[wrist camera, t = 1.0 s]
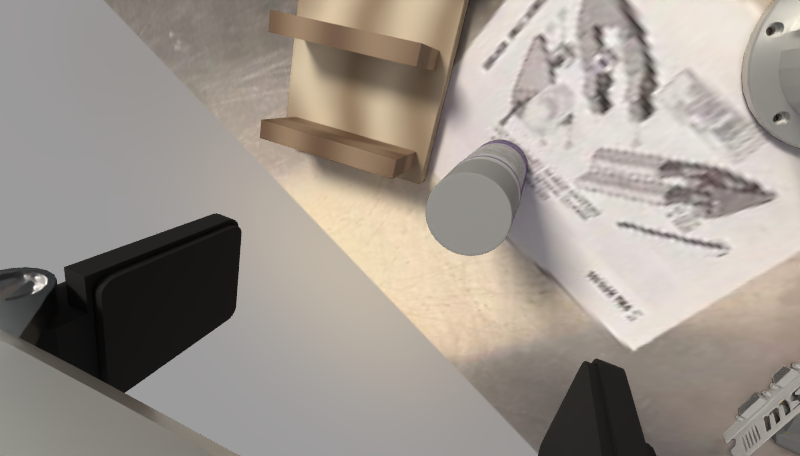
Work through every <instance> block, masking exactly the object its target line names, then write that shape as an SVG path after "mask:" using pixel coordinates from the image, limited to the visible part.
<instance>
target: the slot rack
mask: <svg viewBox="0 0 800 456" xmlns="http://www.w3.org/2000/svg"><path fill="white" fill-rule="evenodd" d="M468 3H469V0H298V9H297V16H296V15H291V14H287V13H282V12H278V11H273V10H270V17H269V30H268V32H271V33H275V34H279V35H284V36H288V37H292V38H295V39H294V49H293V58H292V68H291V78H290V88H289V97H288V107H287V117H286V118H276V119H265V120H261V132H260V138H262V139H265V140H268V141H272V142H275V143H278V144H281V145H284V146H288V147H291V148H294V149H297V150H300V151H304V152H307V153H310V154H313V155H316V156H320V157H323V158H326V159H329V160H332V161H336V162H339V163H342V164H345V165H348V166H352V167H355V168H358V169H361V170H365V171H368V172H371V173H374V174H377V175H381V176H384V177H387V178H390V179H393V178H395V177H399V178H402V179H405V180H408V181H412V182H415V183H418V184H420V183H422V182H423V181H424V180H425V176H426V172H427V168H428V164H429V160H430V156H431V152H432V148H433V144H434V140H435V136H436V132H437V128H438V124H439V120H440V116H441V112H442V108H443V104H444V100H445V96H446V92H447V88H448V84H449V79H450V75H451V71H452V67H453V63H454V59H455V55H456V51H457V47H458V43H459V39H460V35H461V31H462V27H463V23H464V19H465V15H466V11H467V7H468Z"/></svg>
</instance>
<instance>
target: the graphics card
mask: <svg viewBox="0 0 800 456" xmlns="http://www.w3.org/2000/svg"><path fill="white" fill-rule="evenodd" d="M792 367H793V369H792V368H789V367H787V366H785V365H783V366H782V367H781V368H780V369H779V370H777V371H776V372H775V373H774V374H773V375H772V378H773V382H774V383H771V384H770V388H771V389H770V390H769V391H763V392H762V394H763V395H764V396H763V395H761V394H758V393H756V392H755V393H754V394H753V395H752V396H751V397H750V398H749V399H748V400H747V401H746V402H745V403H744V404H743V405H741V406H740V407H739V408H738V412H739V414H740V415H741V416H736V419H737V421H736V422H735V423H734V424H733V425H732V426H731V427H729V428H728V429H727V430H726V431H725V433H724V434H723V437H724V440H725V442H726V443H728V442H729V441H730V440H731V439H735V440H736V445H735V446H734V447H733V449H732V450H731V453H732V455H733V456H749V455H750V454H752V453H753V452H754V451H755V450H756V449H757V448H759V447H760V446H761V445H762V444H763V443H764V442H766V441H767V440H768V439H769V438H770V437H771V436H772V438H773V439H774V441H775V443H777V444H779V445H781V446H782V447H784V448H786V449H788V450H790V451H792V452H794V453H796V454H798V455H800V362H799V363H798V364H797V363H793V364H792ZM794 391H795V395H798V396H795V395H792V393H793V392H794ZM783 400H784V401H785V402H786V404H787V405H788V406H789V407H790V408H789V407H788V406H786V405H782V404H781V405H779V404H780V403H781V402H782V401H783ZM773 409H774V410H775V412H776V413H777V415H778V416H779V417H780V421H779V422H778V423H776V422H775V418H774V414H773V413H772V414H771V415H769V414H770V412H771V411H772V410H773ZM766 415H767V416H769V417H770V423H768V427H767V426H765V423H764V417H765V416H766ZM755 426H756V427H757V430H758V432H759V435H760V437H761V439H759V437H758V434H757V431H756V428H755ZM766 428H768V429H769V431H766ZM752 429H753V431H754V433H755V436H756V439H757V441H758V442H757V443H756V441H755V438H754V435H753V432H752ZM748 432H750V434H751V437H752V440H753V442H754V445H753V444H752V442H751V439H750V436H749V433H748ZM745 434H746V435H747V438H748V440H749V443H750V446H751V448H749V445H748V443H747V439H746V436H745ZM742 437H743V439H744V441H745V444H746V447H747V451H746V449H745V446H744V443H743V439H742Z"/></svg>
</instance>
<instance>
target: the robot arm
mask: <svg viewBox="0 0 800 456" xmlns="http://www.w3.org/2000/svg"><path fill="white" fill-rule="evenodd" d="M768 27H770V28H772V33H771V34H770V35H769V36H767V34H766V29H767V28H768ZM742 84H743V93H744V96H745V99H746V101H747V104H748V107H749V109H750V111H751V112H752V114H753V115H754V117H755V118H756V120H757V121H758V123H759V124H760V125H761V126H762V127H763V128H765V129H766V130H767V131H768V132H769V133H770V134H771V135H772V136H774V137H776V138H778V139H779V140H781V141H783V142H785V143H786V144H788V145H791V146H794V147H797V148H800V0H773V1H772V3H771V4H770V5H769V6H768V8H767V9H766V10H765V11H764V13H763V14H762V16H761V18H760V19H759V21H758V23H757V25H756V27H755V28H754V30H753V32H752V34H751V36H750V39H749V42H748V45H747V48H746V51H745V54H744V60H743V67H742ZM776 114H778V116H779V118H778V120H777V121H774V122H773V117H774V116H775V115H776ZM240 245H241V229H240V228H239V227H238V223H237V222H236V221H235V220H233V219H230V218H228V217H225V216H222V215H220V214H217V213H216V214H212V215H209V216H206V217H204V218H201V219H198V220H195V221H192V222H190V223H187V224H184V225H181V226H178V227H176V228H173V229H170V230H167V231H164V232H161V233H159V234H156V235H153V236H150V237H147V238H145V239H142V240H139V241H136V242H133V243H131V244H128V245H125V246H122V247H120V248H117V249H114V250H111V251H108V252H106V253H103V254H100V255H97V256H94V257H92V258H89V259H86V260H83V261H80V262H78V263H75V264H72V265H69V266H66V267H64V271H65V280H66V281H65V282H63V283H60V284H58V285H57V279H56V277H55V275H54V274H52V273H51V272H49V271H47V270H43V269H39V268H28V267H23V268H9V269H4V270H0V456H239V455H237V454H235V453H234V452H232V451H230V450H228V449H226V448H224V447H223V446H221V445H219V444H217V443H215V442H214V441H212V440H210V439H208V438H206V437H204V436H203V435H201V434H199V433H197V432H195V431H193V430H191V429H189V428H188V427H186V426H184V425H182V424H181V423H179V422H177V421H175V420H173V419H171V418H169V417H167V416H165V415H164V414H162V413H160V412H158V411H157V410H155V409H153V408H151V407H149V406H147V405H145V404H144V403H142V402H140V401H138V400H136V399H134V398H132V397H131V396H129V395H127V394H125V392H126V391H128V390H129V389H131V388H132V387H134V386H135V385H136V384H138V383H139V382H141V381H142V380H143V379H145V378H146V377H148V376H149V375H150V374H152V373H153V372H155V371H156V370H158V369H159V368H160V367H162V366H163V365H165V364H166V363H167V362H169V361H170V360H172V359H173V358H175V357H176V356H177V355H179V354H180V353H182V352H183V351H184V350H186V349H187V348H189V347H190V346H192V345H193V344H194V343H196V342H197V341H199V340H200V339H201V338H203V337H204V336H206V335H207V334H208V333H210V332H211V331H213V330H214V329H215V328H217V327H218V326H220V325H221V324H222V323H224V322H226V321H227V320H228V319H229V318H231V316H232V315H233V313H234V311H235V308H236V300H237V285H238V272H239V258H240ZM538 456H656V453H655V451H654V449H653V447H651V446H650V445H649V444H647V443H646V442H645V439H644V435H643V432H642V428H641V425H640V422H639V418H638V415H637V411H636V408H635V404H634V401H633V397H632V394H631V390H630V387H629V384H628V380H627V377H626V373H625V371H624V369H622V368H620V367H617V366H615V365H612V364H610V363H607V362H604V361H602V360H599V359H595V360H594V361H593V362H592V363H589V362H587V361H584V362H583V363H582V365H581V367H580V369H579V370H578V372H577V374H576V376H575V378H574V380H573V382H572V384H571V386H570V388H569V390H568V392H567V394H566V396H565V398H564V400H563V402H562V404H561V406H560V408H559V410H558V412H557V414H556V416H555V418H554V420H553V422H552V423H551V425H550V427H549V429H548V431H547V433H546V435H545V437H544V439H543V441H542V443H541V446H540V449H539V454H538Z"/></svg>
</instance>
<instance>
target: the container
mask: <svg viewBox="0 0 800 456" xmlns="http://www.w3.org/2000/svg"><path fill="white" fill-rule="evenodd" d="M526 174H527V159H526V156H525V154H524V152H523V151H522V150H521V149H520V148H519V147H518V146H517V145H516V144H514V143H512V142H510V141H507V140H493V141H490V142H488V143H486V144H484V145H482V146H481V147H480V148H478V149H477V150H476V151H475V152H473V153H472V154H471V155H469V156H468V157H467V158H466V159H464V160H463V161H462V162H460V163H459V164H458V165H457V166H456V167H455V168H454V169H453V170H452V171H451V172H450V173H449V174H447V175H446V176H445V177H444V178H443V179H442V180H441V181H440V182H439V183H438V184H437V185H436V186H435V187H434V189H433V190H432V192H431V193H430V195H429V198H428V201H427V205H426V220H427V224H428V227H429V229H430V231H431V233H432V235H433V236H434V238H435V239H436V240H437V241H438V242H439V243H440V244H441V245H442V246H443V247H445V248H446V249H448V250H450V251H452V252H454V253H457V254H461V255H467V256H474V255H481V254H484V253H487V252H489V251H491V250H493V249H495V248H496V247H497V246H499V245H500V244H501V243H502V242H503V240H504V239H505V238H506V236H507V234H508V232H509V230H510V227H511V225H512V222H513V219H514V217H515V214H516V211H517V208H518V206H519V203H520V199H521V195H522V190H523V186H524V182H525V178H526Z"/></svg>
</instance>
